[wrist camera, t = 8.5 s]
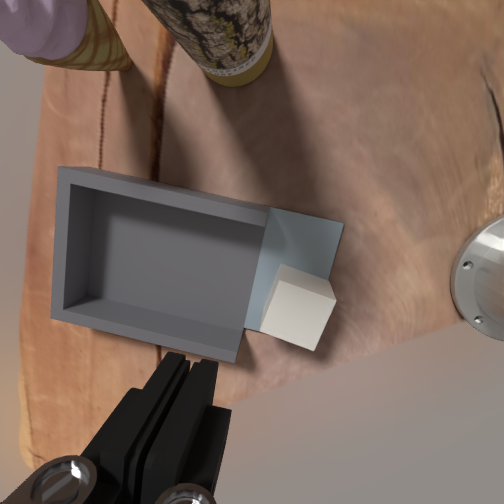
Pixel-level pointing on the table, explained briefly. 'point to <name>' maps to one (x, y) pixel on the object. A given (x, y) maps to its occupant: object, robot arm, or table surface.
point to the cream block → (297, 307)
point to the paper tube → (220, 35)
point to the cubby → (174, 259)
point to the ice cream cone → (63, 34)
